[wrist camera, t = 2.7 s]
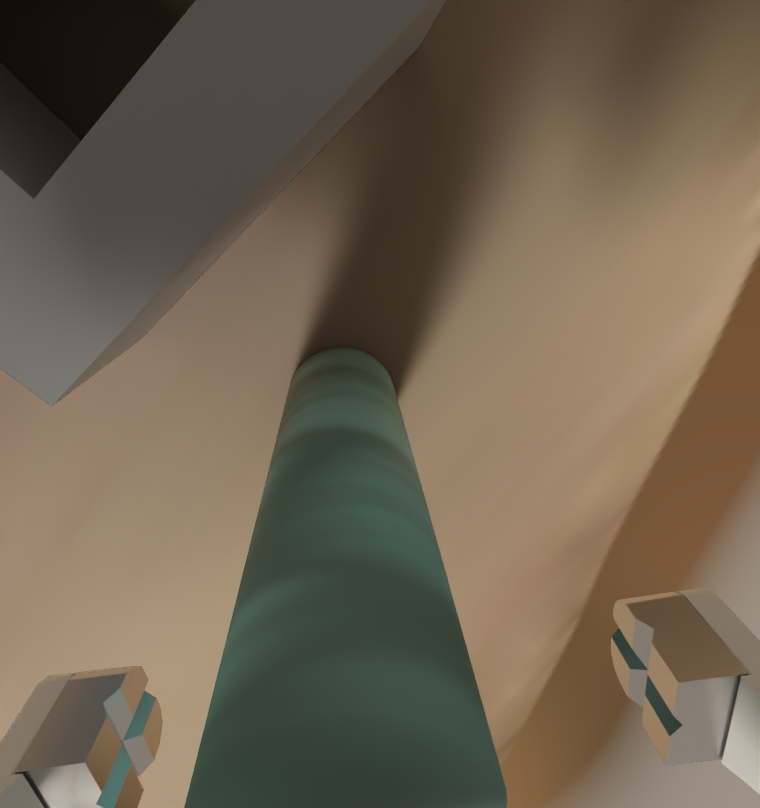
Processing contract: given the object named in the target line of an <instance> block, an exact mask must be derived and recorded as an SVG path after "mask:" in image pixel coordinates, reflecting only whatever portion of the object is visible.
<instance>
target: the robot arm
mask: <svg viewBox="0 0 760 808" xmlns="http://www.w3.org/2000/svg"><path fill="white" fill-rule="evenodd" d="M613 618H614V620H615V622H616V623H617V625H618V627H619V629H618V630H617V631H616V632H615V633H614V634H613V635H612V637H611V654H612V659H613V664H614V668H615V671H616V673H617V676H618V679H619V681H620V683H621V685H622V687H623V689H624V691H625V693H626V695H627V696H628V697H629V698H630V699H632V700H633V701H635V702H636V703H637V704H639V705H640V706H642V707H643V708H644V709H643V717H642V724H643V726H644V727H645V729H646V731H647V733H648V735H649V737H650V738H651V740H652V742H653V744H654V745H655V747H656V749H657V751H658V753H659V755H660V756H661V758H662V760H663V762H664V764H665V765H674V764H683V763H692V762H702V761H712V760H722V764H724V765H725V766H726V767H727V768H728V769H730V770H731V771H732V772H733V773H735V774H736V775H737V776H738V777H739V778H741V779H742V780H743V781H744V782H745V783H747V784H748V785H749V786H750V787H752V788H753V789H754V790H755V791H756V792H758V793H759V794H760V641H759V640H758V639H757V637H756V636H755V635H754V634H753V633H752V632H751V631H750V630H749V629H748V628H747V626H746V625H745V624H744V623H743V622H742V621H741V620H740V619H739V618H738V617H737V616H736V614H735V613H734V612H733V611H732V610H731V609H730V608H729V607H728V606H727V605H726V604H725V603H724V602H723V600H722V599H721V598H720V597H719V596H718V595H717V594H716V593H715V592H714V591H712V590H710V589H708V588H700V589H692V590H685V591H679V592H675V593H674V592H669V593H663V594H656V595H649V596H642V597H635V598H629V599H622V600H617V602H616V603H615V605H614V611H613ZM147 682H148V678H147V676H146V674H145V672H144V670H143V668H142V666H130V667H121V668H112V669H102V670H93V671H84V672H77V673H69V674H60V675H52V676H48V677H46V678H45V679H44V680H42V681H41V682H40V683H39V684H38V685H37V686H36V688H35V689H34V691H33V692H32V694H31V696H30V697H29V699H28V700H27V702H26V703H25V705H24V707H23V708H22V710H21V711H20V713H19V714H18V716H17V717H16V719H15V721H14V722H13V724H12V725H11V727H10V728H9V730H8V732H7V733H6V735H5V736H4V738H3V739H2V741H1V742H0V808H138V805H139V802H140V799H141V796H142V794H143V791H144V789H143V786H142V783H141V780H140V775H141V774H142V773H143V772H144V771H145V770H146V769H147V767H148V766H149V765H150V764H151V763H152V762H153V761H154V759H155V756H156V753H157V750H158V747H159V744H160V738H161V729H162V716H161V708H160V706H159V703H158V701H157V698H155V697H154V696H152V695H151V694H149V693H147V692H146V691H144V690H145V687H146V685H147Z"/></svg>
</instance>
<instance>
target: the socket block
mask: <svg viewBox="0 0 760 808" xmlns="http://www.w3.org/2000/svg"><path fill="white" fill-rule="evenodd" d="M445 2H446V0H196V1H195V2H194V3H193V4H192V5H191V7H190V8H189V9H188V10H187V12H186V13H185V14H184V15H183V16H182V18H181V19H180V20H179V21H178V23H177V24H176V25H175V26H174V28H173V29H172V30H171V31H170V32H169V34H168V35H167V36H166V37H165V39H164V40H163V41H162V42H161V43H160V45H159V46H158V47H157V48H156V50H155V51H154V52H153V53H152V55H151V56H150V57H149V58H148V59H147V61H146V62H145V63H144V64H143V66H142V67H141V68H140V69H139V71H138V72H137V73H136V74H135V75H134V77H133V78H132V79H131V80H130V82H129V83H128V84H127V85H126V86H125V88H124V89H123V90H122V91H121V93H120V94H119V95H118V96H117V98H116V99H115V100H114V101H113V102H112V104H111V105H110V106H109V107H108V109H107V110H106V111H105V112H104V113H103V115H102V116H101V117H100V118H99V120H98V121H97V122H96V123H95V125H94V126H93V127H92V128H91V129H90V131H89V132H88V133H87V134H86V136H85V137H84V138H83V139H82V140H81V139H80V138H79V137H77V136H76V135H75V134H74V133H73V132H72V131H71V130H70V129H69V128H68V127H67V126H66V125H65V124H64V123H63V122H62V121H61V120H60V119H59V118H58V117H57V116H56V115H55V114H54V113H53V112H51V111H50V110H49V109H48V108H47V107H46V106H45V105H44V104H43V103H42V102H41V101H40V100H39V99H38V98H37V97H36V96H35V95H34V94H33V93H32V92H31V91H30V90H29V89H28V88H27V87H25V86H24V85H23V84H22V83H21V82H20V81H19V80H18V79H17V78H16V77H15V76H14V75H13V74H12V73H11V72H10V71H9V70H8V69H7V68H6V67H5V66H4V65H3V64H2V63H1V62H0V369H1V370H3V371H4V372H5V373H7V374H8V375H9V376H11V377H12V378H14V379H15V380H16V381H18V382H19V383H20V384H22V385H23V386H24V387H26V388H27V389H28V390H30V391H31V392H32V393H34V394H35V395H36V396H38V397H39V398H41V399H42V400H43V401H45V402H46V403H47V404H49V405H50V406H53V405H54V404H55V403H57V402H58V401H59V400H61V399H62V398H63V397H65V396H66V395H67V394H69V393H70V392H71V391H73V390H74V389H75V388H77V387H78V386H79V385H80V384H82V383H83V382H84V381H86V380H87V379H88V378H90V377H91V376H92V375H94V374H95V373H96V372H98V371H99V370H100V369H102V368H103V367H104V366H106V365H107V364H108V363H110V362H111V361H112V360H114V359H115V358H116V357H118V356H119V355H120V354H122V353H123V352H124V351H126V350H127V349H128V348H130V347H131V346H132V345H134V344H135V343H136V342H138V341H139V340H140V339H141V338H142V337H143V336H144V335H145V334H146V333H147V332H148V331H149V330H150V329H151V328H152V327H153V326H154V325H155V324H156V323H157V322H158V321H159V319H160V318H161V317H162V316H163V315H164V314H165V313H166V312H167V311H168V310H169V309H170V308H171V307H172V306H173V305H174V304H175V303H176V302H177V301H178V300H179V299H180V297H181V296H182V295H183V294H184V293H185V292H186V291H187V290H188V289H189V288H190V287H191V286H192V285H193V284H194V283H195V282H196V281H197V280H198V279H199V278H200V276H201V275H202V274H203V273H204V272H205V271H206V270H207V269H208V268H209V267H210V266H211V265H212V264H213V263H214V262H215V261H216V260H217V259H218V258H219V257H220V255H221V254H222V253H223V252H224V251H225V250H226V249H227V248H228V247H229V246H230V245H231V244H232V243H233V242H234V241H235V240H236V239H237V238H238V237H239V236H240V234H241V233H242V232H243V231H244V230H245V229H246V228H247V227H248V226H249V225H250V224H251V223H252V222H253V221H254V220H255V219H256V218H257V217H258V216H259V215H260V214H261V212H262V211H263V210H264V209H265V208H266V207H267V206H268V205H269V204H270V203H271V202H272V201H273V200H274V199H275V198H276V197H277V196H278V195H279V194H280V193H281V191H282V190H283V189H284V188H285V187H286V186H287V185H288V184H289V183H290V182H291V181H292V180H293V179H294V178H295V177H296V176H297V175H298V174H299V173H300V172H301V170H302V169H303V168H304V167H305V166H306V165H307V164H308V163H309V162H310V161H311V160H312V159H313V158H314V157H315V156H316V155H317V154H318V153H319V152H320V151H321V149H322V148H323V147H324V146H325V145H326V144H327V143H328V142H329V141H330V140H331V139H332V138H333V137H334V136H335V135H336V134H337V133H338V132H339V131H340V130H341V129H342V127H343V126H344V125H345V124H346V123H347V122H348V121H349V120H350V119H351V118H352V117H353V116H354V115H355V114H356V113H357V112H358V111H359V110H360V109H361V108H362V106H363V105H364V104H365V103H366V102H367V101H368V100H369V99H370V98H371V97H372V96H373V95H374V94H375V93H376V92H377V91H378V90H379V89H380V88H381V87H382V85H383V84H384V83H385V82H386V81H387V80H388V79H389V78H390V77H391V76H392V75H393V74H394V73H395V72H396V71H397V70H398V69H399V68H400V67H401V66H402V64H403V63H404V62H405V61H406V60H407V59H408V58H409V57H410V56H411V55H412V54H413V53H414V52H415V51H416V50H417V49H418V48H419V47H420V46H421V44H422V42H423V41H424V39H425V37H426V35H427V33H428V32H429V30H430V28H431V26H432V25H433V23H434V21H435V19H436V18H437V16H438V14H439V12H440V11H441V9H442V7H443V5H444V4H445Z"/></svg>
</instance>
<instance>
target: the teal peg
mask: <svg viewBox="0 0 760 808" xmlns="http://www.w3.org/2000/svg"><path fill="white" fill-rule="evenodd" d="M506 806H507V794H506V787H505V783H504V780H503V776H502V773H501V769H500V766H499V762H498V758H497V755H496V751H495V748H494V744H493V740H492V737H491V733H490V730H489V726H488V723H487V719H486V715H485V712H484V708H483V705H482V701H481V697H480V694H479V690H478V687H477V683H476V680H475V676H474V672H473V669H472V665H471V662H470V658H469V655H468V651H467V647H466V644H465V640H464V637H463V633H462V629H461V626H460V622H459V619H458V615H457V612H456V608H455V604H454V601H453V597H452V594H451V590H450V586H449V583H448V579H447V576H446V572H445V569H444V565H443V561H442V558H441V554H440V551H439V547H438V543H437V540H436V536H435V533H434V529H433V526H432V522H431V518H430V515H429V511H428V508H427V504H426V501H425V497H424V493H423V490H422V486H421V483H420V479H419V475H418V472H417V468H416V465H415V461H414V458H413V454H412V450H411V447H410V443H409V440H408V436H407V432H406V429H405V425H404V422H403V418H402V415H401V411H400V407H399V404H398V400H397V397H396V393H395V389H394V386H393V383H392V379H391V377H390V375H389V373H388V372H387V370H386V368H385V367H384V366H383V365H382V364H381V363H380V362H379V361H378V360H377V359H376V358H374V357H373V356H371V355H370V354H368V353H366V352H364V351H361V350H358V349H354V348H348V347H335V348H329V349H326V350H322V351H320V352H318V353H315V354H314V355H312V356H311V357H309V358H308V359H307V360H305V361H304V362H303V363H302V364H301V365H300V366H299V368H298V369H297V371H296V372H295V374H294V376H293V378H292V381H291V384H290V387H289V391H288V395H287V399H286V403H285V407H284V411H283V415H282V419H281V423H280V427H279V431H278V435H277V439H276V443H275V447H274V451H273V455H272V459H271V463H270V467H269V471H268V475H267V479H266V483H265V487H264V491H263V495H262V499H261V503H260V507H259V511H258V515H257V519H256V523H255V527H254V531H253V535H252V539H251V543H250V547H249V551H248V555H247V559H246V563H245V567H244V571H243V575H242V579H241V583H240V587H239V591H238V595H237V599H236V603H235V607H234V611H233V615H232V619H231V623H230V627H229V631H228V635H227V639H226V643H225V647H224V651H223V655H222V659H221V663H220V667H219V671H218V675H217V679H216V683H215V687H214V691H213V695H212V699H211V703H210V707H209V711H208V715H207V719H206V723H205V727H204V731H203V735H202V739H201V743H200V747H199V751H198V755H197V759H196V763H195V767H194V771H193V775H192V779H191V783H190V787H189V791H188V795H187V799H186V803H185V808H506Z"/></svg>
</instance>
